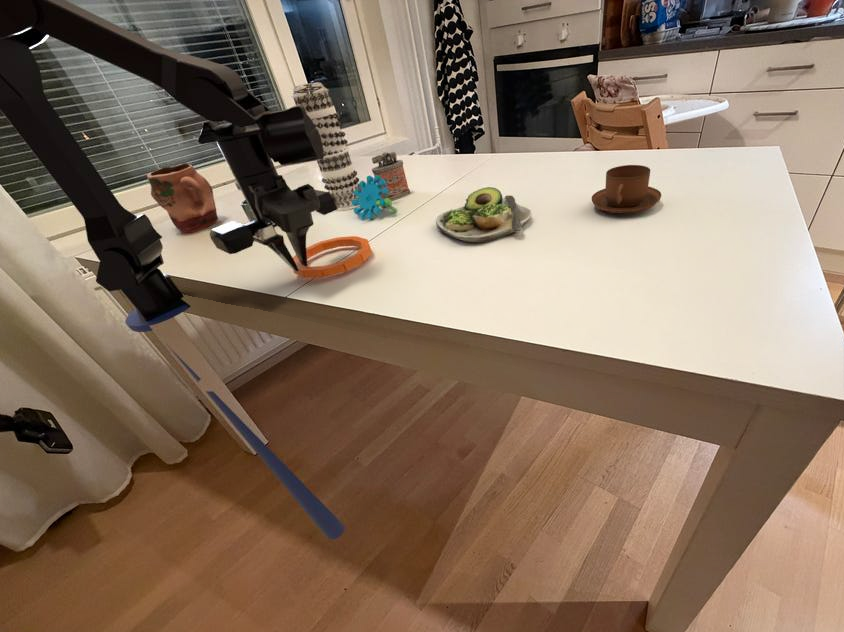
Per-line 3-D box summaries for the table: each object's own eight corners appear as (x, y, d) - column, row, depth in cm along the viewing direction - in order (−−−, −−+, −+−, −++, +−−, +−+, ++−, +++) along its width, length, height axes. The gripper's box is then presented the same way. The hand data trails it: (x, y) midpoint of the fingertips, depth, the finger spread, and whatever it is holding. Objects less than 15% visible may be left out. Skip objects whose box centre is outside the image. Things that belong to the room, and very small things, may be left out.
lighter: (406, 191, 100) (395, 147, 94) (413, 193, 98) (402, 149, 92) (378, 201, 97) (365, 157, 91) (385, 203, 95) (372, 158, 88)
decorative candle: (348, 212, 93) (303, 86, 78) (323, 210, 98) (276, 90, 82) (374, 198, 99) (338, 78, 83) (349, 197, 103) (310, 82, 87)
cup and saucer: (665, 216, 67) (671, 178, 63) (593, 221, 70) (594, 185, 66) (653, 192, 76) (658, 158, 72) (589, 198, 79) (590, 165, 75)
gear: (343, 210, 89) (360, 168, 88) (362, 221, 95) (378, 181, 93) (375, 223, 84) (394, 179, 83) (394, 234, 89) (411, 192, 88)
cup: (261, 232, 91) (248, 206, 88) (248, 227, 95) (235, 202, 91) (288, 221, 95) (276, 195, 91) (275, 217, 99) (263, 192, 95)
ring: (320, 284, 64) (317, 277, 63) (280, 267, 71) (277, 260, 70) (386, 251, 71) (384, 243, 70) (343, 238, 79) (341, 231, 78)
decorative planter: (247, 218, 102) (217, 160, 93) (205, 238, 94) (168, 176, 85) (202, 215, 110) (170, 161, 101) (160, 233, 102) (121, 177, 93)
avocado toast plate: (558, 225, 71) (558, 199, 68) (471, 257, 66) (466, 230, 63) (504, 200, 85) (502, 178, 82) (428, 225, 80) (423, 202, 77)
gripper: (211, 199, 48) (272, 307, 58) (338, 155, 58) (371, 254, 68) (181, 191, 54) (240, 289, 64) (300, 152, 64) (336, 243, 74)
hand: (300, 268), depth 67 cm, fingers closed on ring, 1 cm apart
